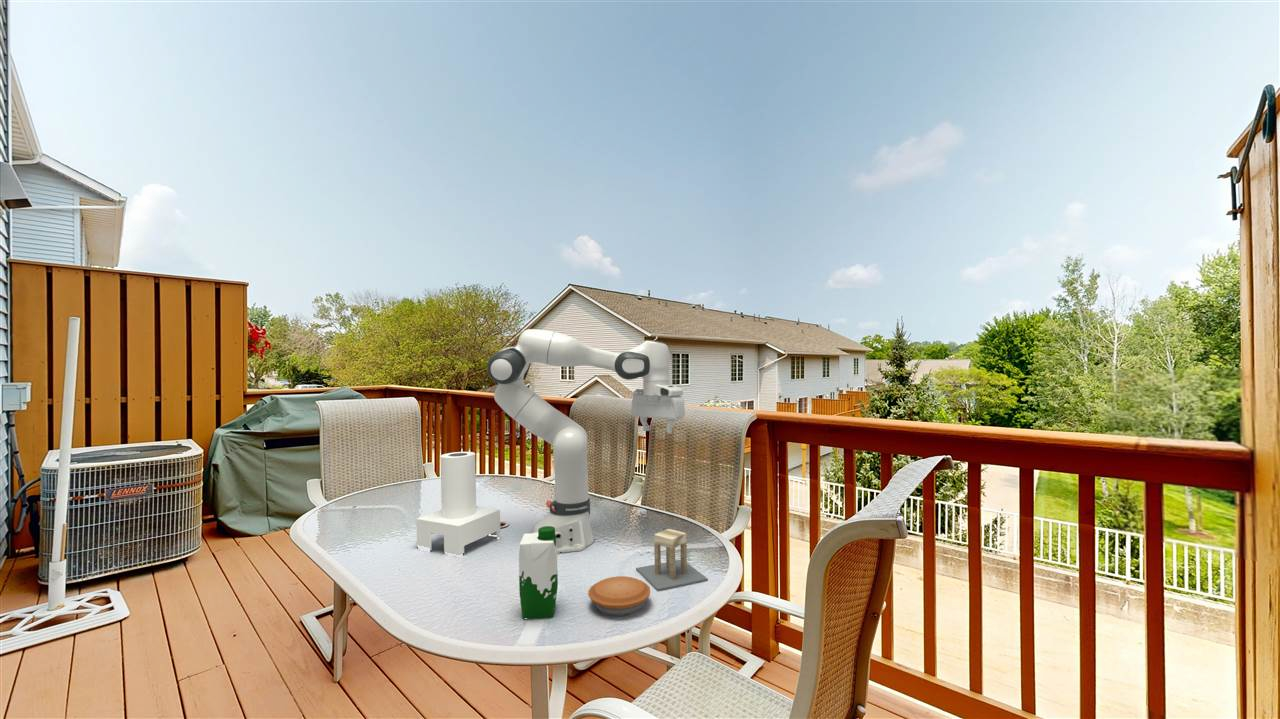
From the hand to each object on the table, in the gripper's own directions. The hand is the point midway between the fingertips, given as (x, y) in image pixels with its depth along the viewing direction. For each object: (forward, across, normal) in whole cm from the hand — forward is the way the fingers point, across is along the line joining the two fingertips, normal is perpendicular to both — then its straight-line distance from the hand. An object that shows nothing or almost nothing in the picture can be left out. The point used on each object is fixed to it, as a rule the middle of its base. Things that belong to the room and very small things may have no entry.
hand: (657, 431), depth 168 cm
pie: (+37, +18, -38) cm, 56 cm away
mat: (+37, +18, -16) cm, 44 cm away
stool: (+36, +18, -16) cm, 43 cm away
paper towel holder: (+38, -53, -41) cm, 77 cm away
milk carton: (+38, +6, -52) cm, 65 cm away
